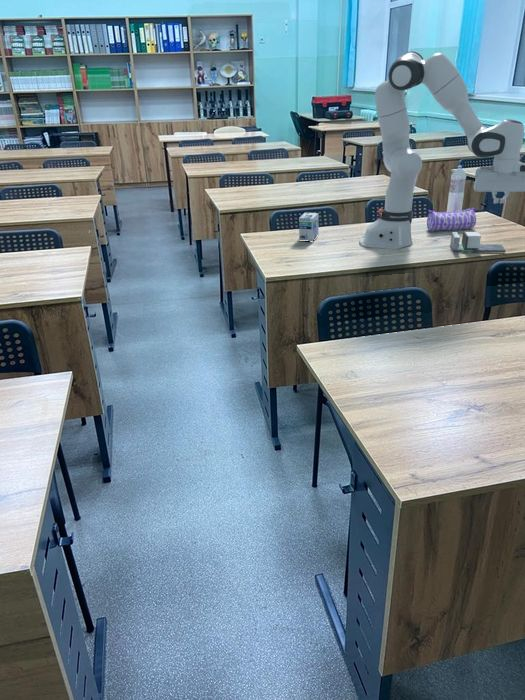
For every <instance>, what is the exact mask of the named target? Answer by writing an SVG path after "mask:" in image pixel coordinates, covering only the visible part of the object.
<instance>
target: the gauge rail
mask: <svg viewBox="0 0 525 700" xmlns="http://www.w3.org/2000/svg"><path fill="white" fill-rule="evenodd" d="M460 241H461V236H460V234H459V233H458V232H457V231H451V236H450V244H449V248H450V250H451V252H452V253H459V252H460V253H461V252H462V253H461V254H464V253H463V252H505V253H506V249H505V247H504V246H503V244H495V243H494V244H492V243H491V244H490V243H489V244H487V243H485V244H483V243H480V246H479V248H467V249H465V248H464V246H463V245H462V243H460ZM460 253H459V254H460Z"/></svg>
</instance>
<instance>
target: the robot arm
mask: <svg viewBox="0 0 525 700" xmlns="http://www.w3.org/2000/svg"><path fill="white" fill-rule="evenodd" d="M421 84H423V85H424V86H425V87H426V88H427V90H428V91H429V92H430V94H431V95H432V98H433V99H434V100H435V101H436V103H438V104H439V105H440V107H442V108H443V109H444V110H445V111H446V112H448V113H450V114H451V115H452V116H453V117H454V118H455V119H456V121H457V122H458V124H459V125H460V127H461V129H462V130H463V132H464V134H465V137H466V143H467V144H466V145H467V148H468V150H469V151H470V152H471V153H473V154H474V155H475V156H476V157H478V158H489V157H493V156H494V159H493V164H492V166H491V165H489V166H485V165H484V166H483V165H482V166H480V167H478V168H477V169H476V171H475V174H474V176H475V181H474V183H473V190H474V192H478V193H480V192H481V193H491V195H492V198H493V204H505V203H506V200H507V199H508V197H509V196H510V193H517V192H518V193H520V192H521V193H523V192H524V193H525V162H522V161H520V159H521V155H520V154H521V149H522V147H523V143H524V137H525V136H524V135H525V126H524V123H522V122H521V121H519V120H516V119H512V118H511V119H509V118H506V119H505V118H504V119H502V120H501V121H500V122H498V123H496V124H495V125H492V126H490V127H488V126H486V125H484V124H483V123H482V122H481V120H479V118H478V116H477V114H476V113H475V111H474V110H473V108H472V106H471V105H470V104H471V103H470V100H469V91H468V87H467V85H466V82H465V80H464V78H463V76H462V75H461V73H460V72H459V70H458V68H457V67H456V66H455V65H454V63H453V62H452V61H451V60H450V58H448V57H447V56H446V55H445V54H444V53H443V52H437V53H434V54H431V55H430V56H429V57H427V58H425V59H424V58H423V56H422V55H421V54H420V53H418V52H416V51H407V52H405V53H403V54H401V55H400V56H398V57H397V58H396V59H395V61H394V62H393V63H392V64H391V65H390V68H389V71H388V79H387V80H385V81H383V82H381V83H380V84H379V85H378V86H377V87H376V89H375V92H374V96H375V97H374V100H375V110H376V115H377V120H378V125H379V130H380V134H381V142H382V143H381V144H382V152H383V153H382V154H383V157H382V160H383V164H384V167H385V168H386V170H387V171H388V172H390V177H389V181H388V186H387V188H386V190H385V199H384V200H385V201H384V209H382V208H379V209H378V210H377V212H378V214H379V215H378V216H379V218H378V219H376V220H375V221H373V222H372V223H371V224H370V225H368V226H367V227H366V229H365V232H364V236H361V237H360V238H359V245H360V246H361V247H365V248H378V249H389V250H390V249H392V250H398V249H401V248H405V247H408V246H411V245H413V238H412V227H411V225H412V221H413V213H414V212H413V209H412V208H413V197H414V190H415V187H416V183H417V180H418V176H419V174H420V172H421V171H422V169H423V168H422V167H423V159H422V158H421V155H419V153H418V152H417V151H415V150H414V149H412V148H411V145H410V130H411V126H410V119H409V116H408V115H409V114H408V110H407V104H406V98H405V95H406V94H405V93H406V91H407V90H409V89H412V88H414V87H417V86H418V85H421ZM498 192H500V193H502V192H503V193H504V195H503V196H502V197H500V198H498V197H497V196H496V195H498Z"/></svg>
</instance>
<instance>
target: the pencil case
mask: <svg viewBox="0 0 525 700" xmlns="http://www.w3.org/2000/svg"><path fill="white" fill-rule="evenodd" d="M475 210H476V209H475V207H471V208H470V207H468V208H467V209H464V210H463V209H462V211H454V212H447V211H441V212H440V211H435V210H430V209H429V210H427V211H428V212H429V213H428V215H427V218H426V219H427V220H426V228H427V229H428V231H430V232H435V231H454V230H470V229H474V227H475V225H476V223H477V217H476V212H475Z"/></svg>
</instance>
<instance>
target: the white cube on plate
mask: <svg viewBox="0 0 525 700" xmlns="http://www.w3.org/2000/svg"><path fill="white" fill-rule="evenodd" d="M481 239H482V235H481V234H480V233H479V231H465V230H463V231H462V237H461V244H462V245H463V246H464V248H465V249H467V248H479V246H480V244H481Z"/></svg>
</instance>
